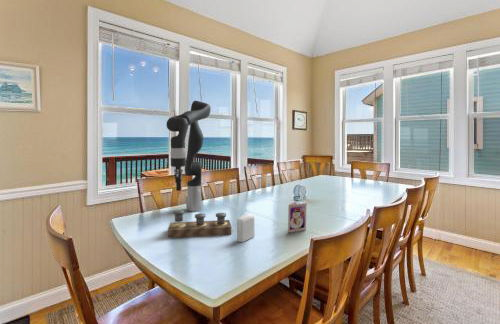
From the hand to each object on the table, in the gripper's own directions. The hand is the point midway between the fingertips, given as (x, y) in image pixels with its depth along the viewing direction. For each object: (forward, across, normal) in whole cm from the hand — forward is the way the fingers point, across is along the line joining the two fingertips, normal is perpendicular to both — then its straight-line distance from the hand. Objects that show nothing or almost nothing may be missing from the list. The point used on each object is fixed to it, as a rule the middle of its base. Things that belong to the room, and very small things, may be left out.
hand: (178, 190), depth 138 cm
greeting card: (+23, -4, -62) cm, 66 cm away
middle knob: (+18, 0, -11) cm, 21 cm away
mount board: (+23, 0, -11) cm, 25 cm away
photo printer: (+23, -13, -33) cm, 43 cm away
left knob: (+16, 0, 0) cm, 16 cm away
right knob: (+19, 0, -22) cm, 29 cm away
